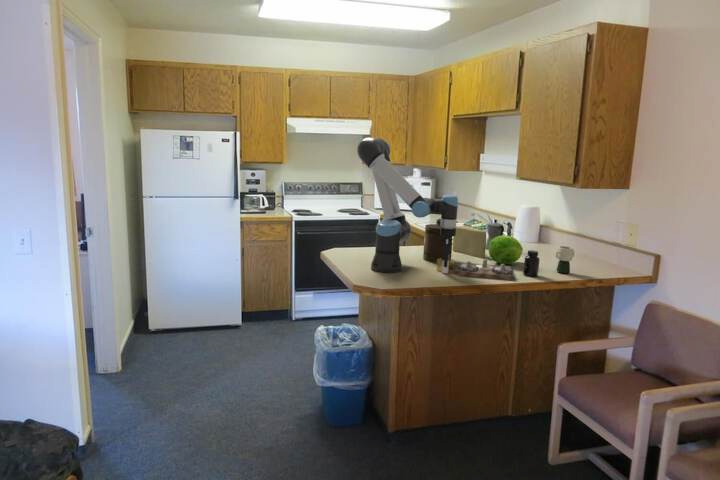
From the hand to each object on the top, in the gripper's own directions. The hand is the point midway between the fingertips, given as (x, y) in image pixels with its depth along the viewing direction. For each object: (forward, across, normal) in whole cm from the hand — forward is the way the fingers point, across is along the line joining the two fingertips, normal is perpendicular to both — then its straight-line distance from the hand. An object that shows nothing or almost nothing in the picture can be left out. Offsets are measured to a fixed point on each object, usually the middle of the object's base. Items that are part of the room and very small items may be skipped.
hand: (445, 269), depth 253 cm
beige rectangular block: (0, +43, -13) cm, 45 cm away
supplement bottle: (+1, +4, -41) cm, 41 cm away
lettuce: (0, +26, -31) cm, 40 cm away
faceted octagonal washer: (0, 0, 0) cm, 0 cm away
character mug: (+1, +15, -58) cm, 60 cm away
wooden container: (0, +22, +5) cm, 23 cm away
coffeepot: (0, +61, -27) cm, 67 cm away
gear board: (0, +1, -19) cm, 19 cm away
